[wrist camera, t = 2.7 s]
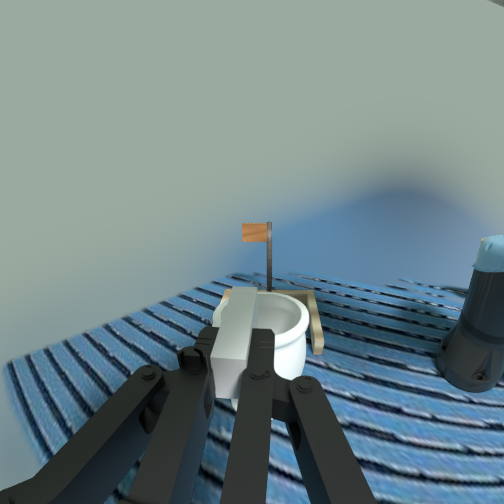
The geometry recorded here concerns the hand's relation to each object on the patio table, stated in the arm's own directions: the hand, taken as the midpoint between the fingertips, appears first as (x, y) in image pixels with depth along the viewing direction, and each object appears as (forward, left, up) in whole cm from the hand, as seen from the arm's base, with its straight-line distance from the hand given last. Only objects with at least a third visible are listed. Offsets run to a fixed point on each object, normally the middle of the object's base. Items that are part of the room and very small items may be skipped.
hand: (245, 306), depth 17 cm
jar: (-4, -10, -23) cm, 25 cm away
